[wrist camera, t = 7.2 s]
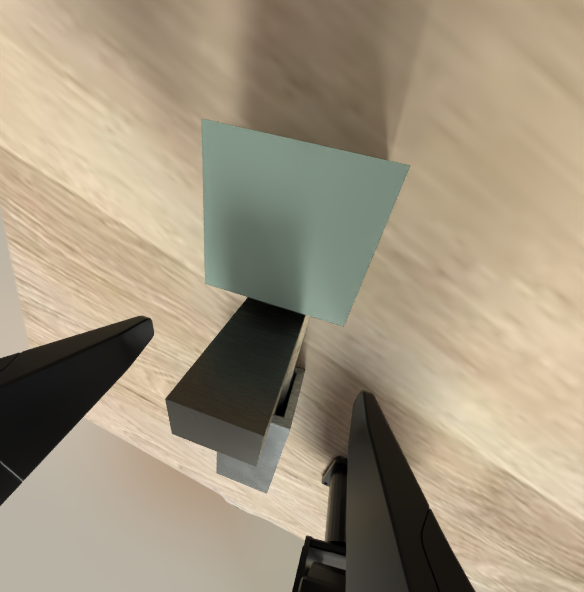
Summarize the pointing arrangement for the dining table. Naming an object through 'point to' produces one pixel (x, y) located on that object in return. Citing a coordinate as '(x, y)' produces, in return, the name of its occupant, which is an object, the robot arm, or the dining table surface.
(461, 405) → the dining table surface
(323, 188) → the socket block
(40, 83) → the dining table surface
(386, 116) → the dining table surface
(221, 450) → the tube
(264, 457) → the sleeve
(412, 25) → the dining table surface
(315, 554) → the robot arm
